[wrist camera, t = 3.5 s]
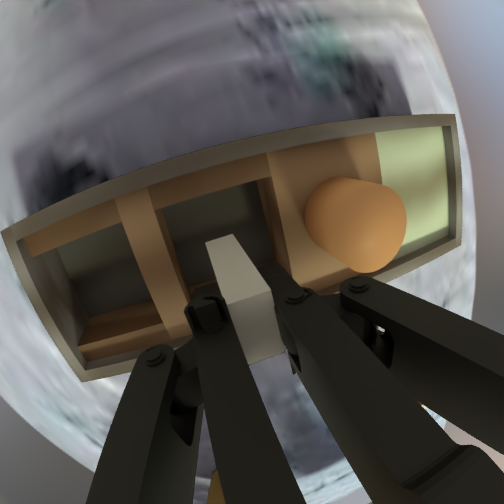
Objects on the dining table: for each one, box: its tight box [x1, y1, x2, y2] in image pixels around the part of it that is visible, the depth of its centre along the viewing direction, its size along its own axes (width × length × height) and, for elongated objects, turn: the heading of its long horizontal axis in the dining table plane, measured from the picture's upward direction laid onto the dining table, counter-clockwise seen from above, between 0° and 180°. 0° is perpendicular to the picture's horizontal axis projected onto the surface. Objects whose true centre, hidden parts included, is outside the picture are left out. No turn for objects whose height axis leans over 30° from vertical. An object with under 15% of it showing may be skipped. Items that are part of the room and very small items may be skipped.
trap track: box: [1, 114, 462, 382], centre depth 19 cm, size 12×34×6 cm, turn 104°
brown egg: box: [305, 177, 407, 273], centre depth 16 cm, size 5×5×4 cm
